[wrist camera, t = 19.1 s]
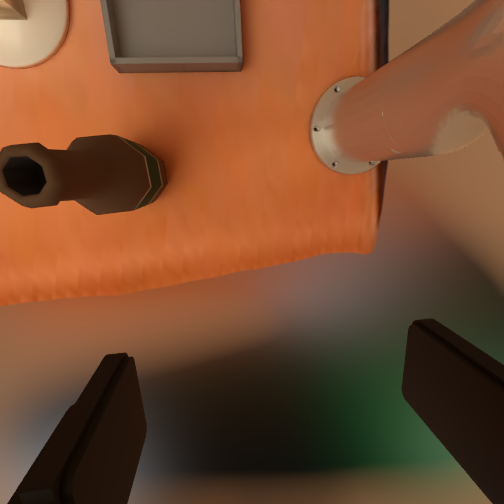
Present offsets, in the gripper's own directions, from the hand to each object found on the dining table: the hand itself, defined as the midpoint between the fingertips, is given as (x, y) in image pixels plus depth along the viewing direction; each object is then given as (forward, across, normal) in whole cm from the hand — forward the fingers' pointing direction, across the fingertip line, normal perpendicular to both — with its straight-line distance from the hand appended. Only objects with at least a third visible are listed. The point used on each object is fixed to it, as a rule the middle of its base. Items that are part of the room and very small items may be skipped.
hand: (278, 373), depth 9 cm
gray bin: (+33, +5, -27) cm, 43 cm away
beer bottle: (+34, +12, -7) cm, 36 cm away
